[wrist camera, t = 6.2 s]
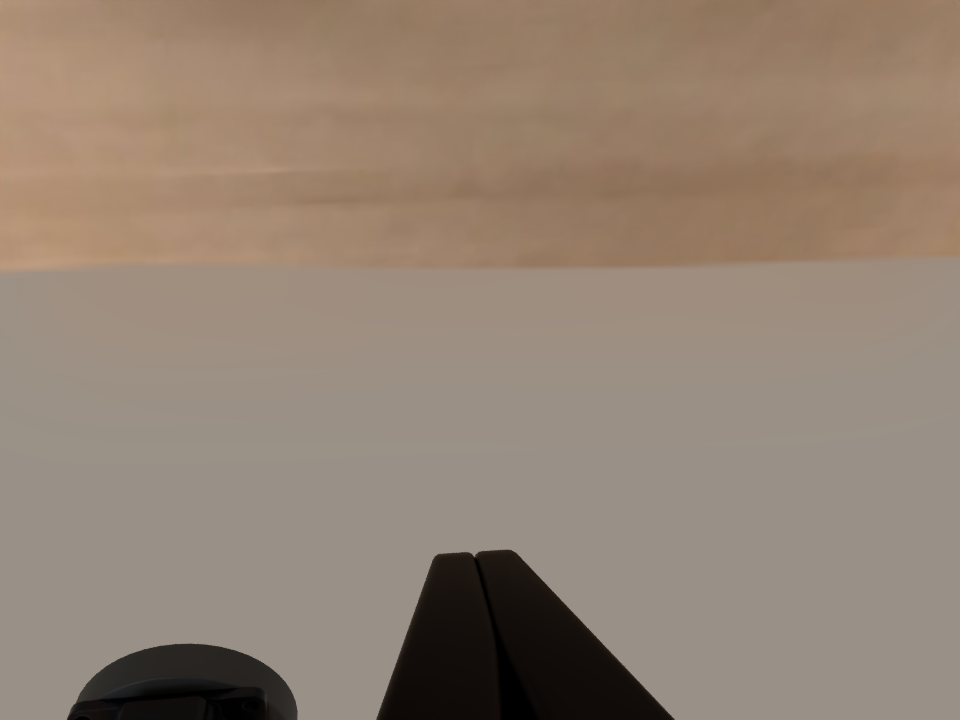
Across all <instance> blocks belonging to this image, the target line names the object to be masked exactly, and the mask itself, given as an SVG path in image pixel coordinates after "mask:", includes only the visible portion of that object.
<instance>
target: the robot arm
mask: <svg viewBox="0 0 960 720" xmlns="http://www.w3.org/2000/svg"><path fill="white" fill-rule="evenodd" d="M67 720H270V717H269V708H268V699H267V694H266V691H264V690H263V689H262V688H259V687H252V686H251V687H240V688H228V689H216V690H205V691H193V692H182V693H170V694H159V695H147V696H136V697H124V698H113V699H101V700H90V701H82V702H78V703H76V704H74V705H73V707H72V708H71V710H70V713H69V715H68V718H67ZM376 720H675V719H674V718H673V717H672V716H671V715H670V714H669V713H668V712H667V711H666V710H665V709H664V708H663V707H662V706H661V705H660V704H659V703H658V701H657V700H656V699H655V698H654V697H653V696H652V695H651V694H650V693H649V692H648V691H647V690H646V689H645V688H644V687H643V686H642V685H641V684H640V683H639V681H637V679H636V678H635V677H634V676H633V675H632V674H631V673H630V672H629V671H628V670H627V669H626V668H625V667H624V666H623V665H622V664H621V663H620V662H619V661H618V659H617V658H616V657H615V656H614V655H613V654H612V653H611V652H610V651H609V650H608V649H607V648H606V647H605V646H604V645H603V644H602V643H601V642H600V640H599V639H597V637H596V636H595V635H594V634H593V633H592V632H591V631H590V630H589V629H588V628H587V627H586V626H585V625H584V624H583V623H582V622H581V621H580V619H579V618H578V617H577V616H576V615H575V614H574V613H573V612H572V611H571V610H570V609H569V608H568V607H567V606H566V605H565V604H564V603H563V602H562V601H561V600H560V598H559V597H558V596H557V595H556V594H555V593H554V592H553V591H552V590H551V589H550V588H549V587H548V586H547V585H546V584H545V583H544V582H543V581H542V580H541V578H540V577H539V576H538V575H537V574H536V573H535V572H534V571H533V570H532V569H531V568H530V567H529V566H528V565H527V564H526V563H525V562H524V561H523V560H522V559H521V557H520V556H519V555H518V554H517V553H515V552H513V551H512V550H494V551H481V552H478V553H477V554H476V555H475V557H474V556H473V555H472V554H471V553H469V552H462V553H447V554H438V555H437V556H435V557H434V559H433V561H432V564H431V566H430V569H429V572H428V575H427V578H426V581H425V583H424V586H423V589H422V592H421V595H420V598H419V600H418V604H417V606H416V609H415V612H414V615H413V618H412V620H411V623H410V626H409V629H408V631H407V634H406V637H405V640H404V643H403V646H402V648H401V651H400V654H399V657H398V660H397V663H396V665H395V668H394V671H393V674H392V677H391V679H390V683H389V685H388V688H387V691H386V694H385V696H384V699H383V702H382V705H381V708H380V711H379V713H378V716H377V719H376Z"/></svg>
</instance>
